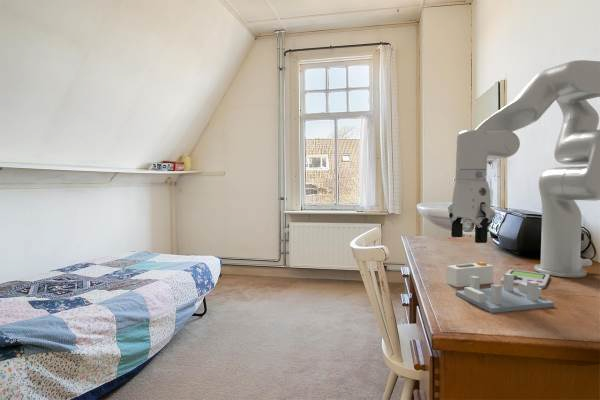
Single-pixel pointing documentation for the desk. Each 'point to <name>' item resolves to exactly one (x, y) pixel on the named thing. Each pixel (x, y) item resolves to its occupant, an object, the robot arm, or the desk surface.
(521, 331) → the desk surface
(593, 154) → the robot arm
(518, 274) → the handheld gaming console
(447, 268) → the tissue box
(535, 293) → the bracket board
